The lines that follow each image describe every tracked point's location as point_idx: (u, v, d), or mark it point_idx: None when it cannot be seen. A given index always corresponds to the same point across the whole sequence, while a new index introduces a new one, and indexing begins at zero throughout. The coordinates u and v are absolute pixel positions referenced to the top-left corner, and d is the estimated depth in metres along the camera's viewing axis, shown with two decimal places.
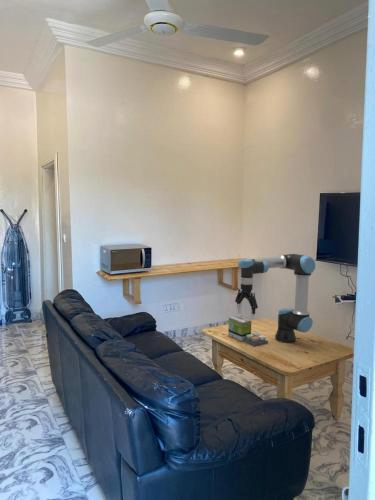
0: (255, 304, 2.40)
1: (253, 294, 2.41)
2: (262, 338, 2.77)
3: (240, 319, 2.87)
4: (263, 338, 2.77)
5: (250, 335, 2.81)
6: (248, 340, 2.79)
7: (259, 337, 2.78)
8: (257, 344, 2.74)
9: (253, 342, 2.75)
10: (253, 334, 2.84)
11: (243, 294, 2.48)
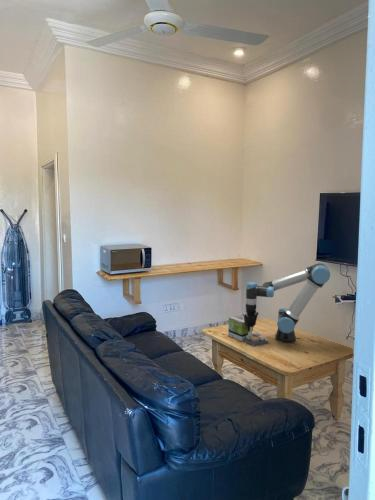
0: (245, 323, 2.78)
1: (244, 315, 2.76)
2: (262, 338, 2.77)
3: (240, 319, 2.87)
4: (263, 338, 2.77)
5: None
6: (248, 340, 2.79)
7: (259, 337, 2.78)
8: (257, 344, 2.74)
9: (253, 342, 2.75)
10: (253, 334, 2.84)
11: None
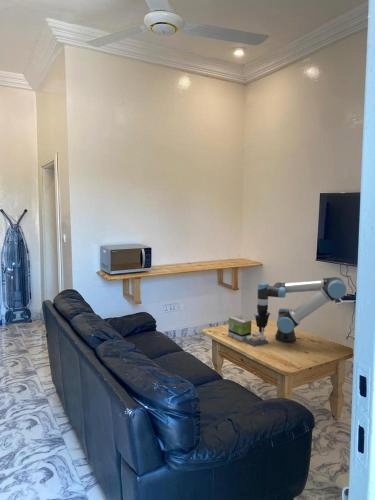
0: (257, 324, 2.76)
1: (255, 316, 2.74)
2: (262, 338, 2.77)
3: (240, 319, 2.87)
4: (263, 338, 2.77)
5: (250, 336, 2.81)
6: (248, 340, 2.79)
7: (259, 337, 2.78)
8: (257, 344, 2.74)
9: (253, 342, 2.75)
10: (253, 334, 2.84)
11: None
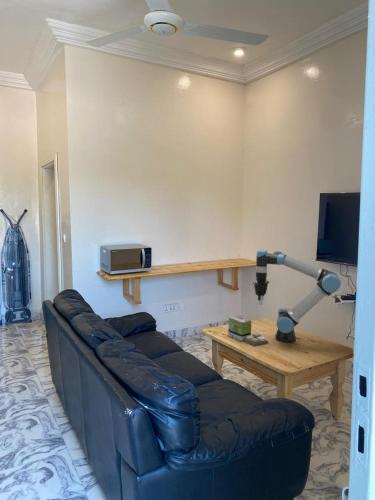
0: (256, 292, 2.74)
1: (254, 284, 2.72)
2: (262, 339, 2.77)
3: (240, 319, 2.87)
4: (263, 339, 2.78)
5: (250, 336, 2.81)
6: (248, 340, 2.79)
7: (259, 338, 2.78)
8: (257, 344, 2.74)
9: None
10: (253, 334, 2.84)
11: None
